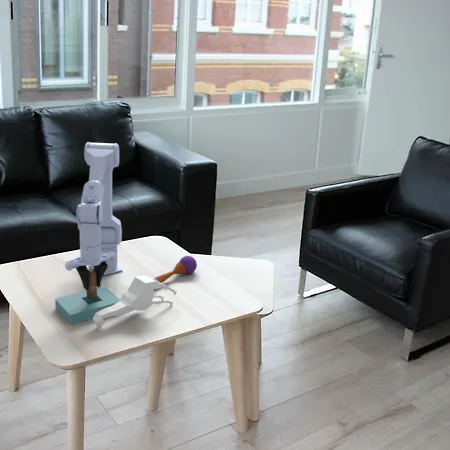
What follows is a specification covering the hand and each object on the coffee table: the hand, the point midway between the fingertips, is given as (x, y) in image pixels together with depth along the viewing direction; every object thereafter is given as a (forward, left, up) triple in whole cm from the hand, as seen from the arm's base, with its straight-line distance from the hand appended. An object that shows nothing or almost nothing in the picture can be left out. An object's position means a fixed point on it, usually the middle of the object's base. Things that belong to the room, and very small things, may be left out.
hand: (91, 287), depth 183 cm
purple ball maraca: (-5, +31, -7) cm, 32 cm away
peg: (0, 0, -3) cm, 3 cm away
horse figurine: (+9, +9, -7) cm, 15 cm away
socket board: (0, -1, -7) cm, 7 cm away
